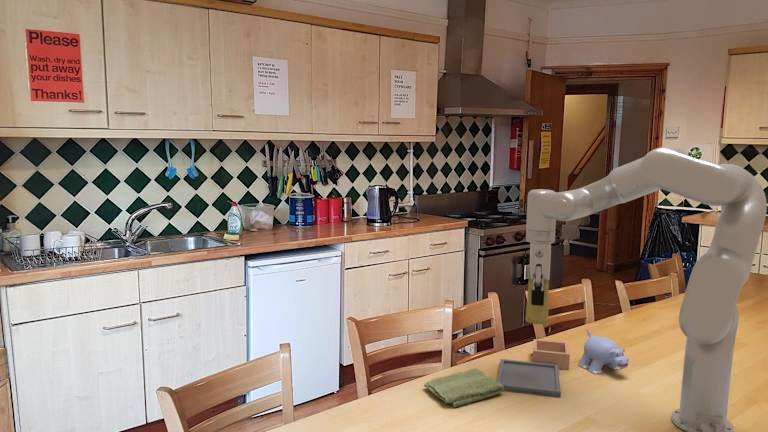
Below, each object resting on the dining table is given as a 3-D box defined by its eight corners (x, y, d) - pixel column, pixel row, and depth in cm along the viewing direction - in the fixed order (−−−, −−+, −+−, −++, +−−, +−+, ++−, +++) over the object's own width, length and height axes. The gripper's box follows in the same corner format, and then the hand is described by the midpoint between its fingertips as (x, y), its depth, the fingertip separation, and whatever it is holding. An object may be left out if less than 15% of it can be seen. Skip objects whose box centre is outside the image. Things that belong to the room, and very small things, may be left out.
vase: (548, 325, 156) (551, 272, 154) (525, 323, 158) (527, 271, 156) (548, 318, 162) (550, 267, 160) (525, 316, 163) (527, 266, 162)
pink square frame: (568, 369, 166) (569, 354, 166) (532, 365, 169) (533, 350, 168) (567, 356, 176) (567, 342, 175) (532, 353, 178) (533, 339, 178)
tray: (560, 397, 149) (560, 391, 149) (496, 389, 153) (496, 384, 153) (557, 369, 166) (558, 364, 166) (500, 363, 170) (500, 358, 170)
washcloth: (421, 389, 153) (421, 377, 152) (477, 376, 161) (477, 365, 160) (448, 410, 141) (448, 397, 141) (507, 395, 149) (508, 383, 149)
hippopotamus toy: (609, 382, 158) (611, 348, 157) (570, 362, 172) (572, 331, 171) (638, 376, 163) (641, 343, 161) (598, 357, 176) (600, 326, 175)
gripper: (555, 242, 147) (551, 312, 150) (555, 231, 164) (552, 294, 166) (524, 240, 149) (521, 309, 152) (527, 230, 166) (525, 292, 168)
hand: (537, 301), depth 159 cm, fingers closed on vase, 5 cm apart
